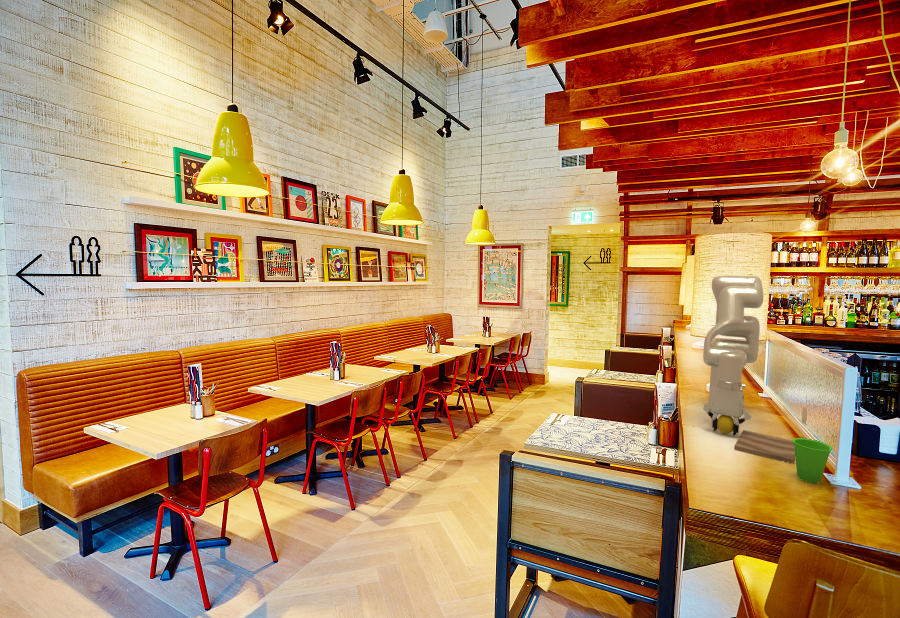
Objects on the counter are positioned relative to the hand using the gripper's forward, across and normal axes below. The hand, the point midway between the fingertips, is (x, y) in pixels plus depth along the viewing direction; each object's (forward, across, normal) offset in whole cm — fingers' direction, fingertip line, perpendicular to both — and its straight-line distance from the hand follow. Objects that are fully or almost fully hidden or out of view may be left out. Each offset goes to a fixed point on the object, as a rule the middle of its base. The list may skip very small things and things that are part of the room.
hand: (724, 431), depth 161 cm
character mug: (+1, -25, -14) cm, 29 cm away
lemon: (+1, 0, 0) cm, 1 cm away
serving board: (+1, -13, +4) cm, 14 cm away
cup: (+1, -25, +24) cm, 35 cm away
